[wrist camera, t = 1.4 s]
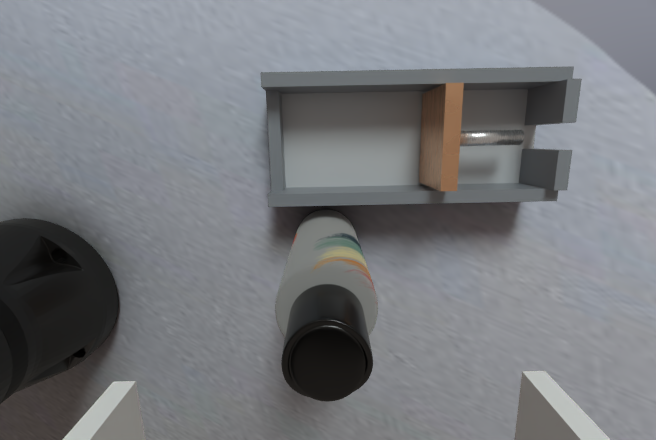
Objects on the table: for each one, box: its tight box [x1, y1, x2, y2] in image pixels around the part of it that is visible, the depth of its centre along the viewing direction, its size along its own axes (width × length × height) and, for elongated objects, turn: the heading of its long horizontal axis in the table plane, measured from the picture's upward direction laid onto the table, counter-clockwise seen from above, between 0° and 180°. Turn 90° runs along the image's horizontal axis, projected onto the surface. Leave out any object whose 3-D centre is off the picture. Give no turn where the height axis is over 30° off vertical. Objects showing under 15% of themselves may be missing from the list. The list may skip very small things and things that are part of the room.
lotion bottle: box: [275, 210, 378, 401], centre depth 24 cm, size 6×6×20 cm
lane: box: [261, 67, 581, 207], centre depth 29 cm, size 23×10×6 cm, turn 91°
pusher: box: [419, 83, 524, 191], centre depth 28 cm, size 7×7×6 cm
